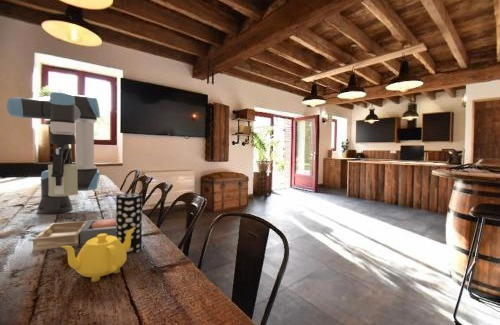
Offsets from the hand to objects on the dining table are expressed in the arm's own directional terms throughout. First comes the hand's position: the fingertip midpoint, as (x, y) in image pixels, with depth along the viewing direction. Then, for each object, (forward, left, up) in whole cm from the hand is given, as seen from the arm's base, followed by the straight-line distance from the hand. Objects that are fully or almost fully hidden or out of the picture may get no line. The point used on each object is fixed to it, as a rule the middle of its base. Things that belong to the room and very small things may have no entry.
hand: (63, 191), depth 92 cm
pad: (+1, +14, -16) cm, 21 cm away
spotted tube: (+19, +24, -19) cm, 36 cm away
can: (0, 0, -1) cm, 1 cm away
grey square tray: (+1, +14, -19) cm, 23 cm away
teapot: (+34, +18, -19) cm, 43 cm away
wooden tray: (0, 0, -19) cm, 19 cm away
